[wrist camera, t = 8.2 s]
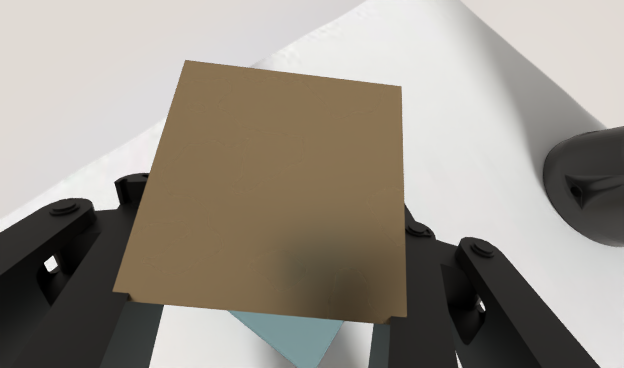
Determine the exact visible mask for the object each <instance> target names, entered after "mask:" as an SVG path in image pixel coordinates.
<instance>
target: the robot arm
mask: <svg viewBox="0 0 624 368" xmlns="http://www.w3.org/2000/svg"><path fill="white" fill-rule="evenodd" d="M149 174H150V173H138V174H132V175H127V176H124V177H122V178H119V179H118V180H116V181H115V182H114V183H115V187H116V191H117V194H118V198H119V202H120V205H119V207H118V208H117V209H114V210H100V211H95V210H94V207H93V204H92V202H91V201H90V200H88V199H83V198H68V199H62V200H59V201H57V202H54V203H51V204H48V205H46V206H44V207H42V208H40V209H39V210H37V211H35V212H34V213H32V214H30V215H29V216H27V217H25V218H24V219H22V220H20V221H19V222H17V223H15V224H14V225H12V226H10V227H9V228H7V229H5V230H4V231H2V232H0V368H149V365H150V360H151V356H152V352H153V348H154V344H155V340H156V336H157V332H158V328H159V323H160V319H161V315H162V311H163V307H164V304H153V303H142V302H130V301H128V299H129V293H122V292H112V291H113V288H114V285H115V282H116V278H117V275H118V272H119V269H120V266H121V263H122V259H123V256H124V253H125V250H126V247H127V244H128V240H129V237H130V234H131V231H132V228H133V224H134V221H135V218H136V215H137V212H138V209H139V205H140V202H141V199H142V196H143V193H144V190H145V186H146V183H147V180H148V177H149ZM544 182H545V187H546V190H547V193H548V195H549V198H550V200H551V202H552V203H553V205H554V207H555V208H556V210H557V211H558V213H559V214H560V215H561V216H562V217H563V219H564V220H565V221H566V222H567V223H568V224H569V225H570V226H572V227H573V228H574V229H575V230H577V231H578V232H579V233H581V234H582V235H584V236H586V237H587V238H589V239H591V240H593V241H595V242H598V243H601V244H604V245H608V246H614V247H624V126H622V127H617V128H612V129H607V130H602V131H594V132H587V133H583V134H580V135H577V136H575V137H572V138H570V139H568V140H566V141H564V142H562V143H560V144H558V145H557V146H555V147H554V148H553V149H552V150H551V151H550V153H549V154H548V156H547V158H546V161H545V164H544ZM404 214H405V255H406V296H407V317H397V316H391V318H390V323H389V325H386V324H375V323H374V326H373V334H372V342H371V350H370V358H369V366H368V368H458V363H457V357H456V353H457V355H458V358H459V360H460V363H461V365H462V368H600V367H599V365H598V364H597V363H596V362H595V361H594V360H593V358H592V357H591V356H590V355H589V354H588V353H587V351H586V350H585V349H584V348H583V347H582V346H581V344H580V343H579V342H578V341H577V340H576V338H575V337H574V336H573V335H572V334H571V333H570V331H569V330H568V329H567V328H566V327H565V326H564V324H563V323H562V322H561V321H560V320H559V319H558V317H557V316H556V315H555V314H554V313H553V312H552V310H551V309H550V308H549V307H548V306H547V305H546V303H545V302H544V301H543V300H542V299H541V298H540V296H539V295H538V294H537V293H536V292H535V291H534V289H533V288H532V287H531V286H530V285H529V284H528V282H527V281H526V280H525V279H524V278H523V276H522V275H521V274H520V273H519V272H518V271H517V269H516V268H515V267H514V266H513V265H512V264H511V262H510V261H509V260H508V259H507V258H506V257H505V255H504V254H503V253H502V252H501V251H500V250H499V249H498V248H496V247H495V246H493V245H492V244H490V243H489V242H487V241H484V240H482V239H477V238H473V237H465V238H462V239H461V241H460V243H459V245H458V246H455V245H452V244H448V243H445V242H442V241H439V240H436V238H435V235H434V233H433V231H432V230H431V229H430V228H429V227H427V226H425V225H424V224H422V223H419V222H416V221H415V220H414V218H413V216H412V215H411V213H410V211H409V210H408V208H407V206H406V205H405V203H404ZM52 256H54V258H55V260H56V262H57V265H58V266H57V267H56V268H55V269H54V270H52V271H50V272H49V271H47V269H46V267H45V265H44V262H45V261H47V260H48V259H49V258H50V257H52ZM481 301H482V302H483V304H484V306H485V310H486V311H484V310H483V309H482V307H481V305H480V302H481ZM455 350H456V352H455Z"/></svg>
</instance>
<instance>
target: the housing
mask: <svg viewBox="0 0 624 368" xmlns="http://www.w3.org/2000/svg"><path fill="white" fill-rule="evenodd" d="M112 292H122V293H129V299H128V301H130V302H142V303H153V304H164V305H175V306H186V307H197V308H208V309H219V310H230V311H241V312H253V313H264V314H275V315H286V316H297V317H308V318H319V319H330V320H341V321H353V322H364V323H375V324H386V325H389V323H390V318H391V316H397V317H407V296H406V255H405V214H404V174H403V133H402V92H401V86H394V85H385V84H377V83H369V82H361V81H353V80H344V79H336V78H328V77H320V76H312V75H303V74H295V73H287V72H279V71H271V70H262V69H254V68H246V67H237V66H229V65H221V64H213V63H204V62H196V61H189V60H185V63H184V66H183V69H182V72H181V75H180V79H179V82H178V85H177V88H176V92H175V94H174V98H173V101H172V104H171V107H170V110H169V113H168V117H167V120H166V123H165V126H164V129H163V132H162V136H161V139H160V142H159V145H158V148H157V151H156V155H155V158H154V161H153V164H152V167H151V171H150V174H149V177H148V180H147V183H146V186H145V190H144V193H143V196H142V199H141V202H140V205H139V209H138V212H137V215H136V218H135V221H134V224H133V228H132V231H131V234H130V237H129V240H128V244H127V247H126V250H125V253H124V256H123V259H122V263H121V266H120V269H119V272H118V275H117V278H116V282H115V285H114V288H113V291H112Z"/></svg>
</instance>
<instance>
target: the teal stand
mask: <svg viewBox="0 0 624 368" xmlns="http://www.w3.org/2000/svg"><path fill="white" fill-rule="evenodd" d="M227 311H229V312H230V313H231V314H232V315H233V316H235V317H236V318H237V319H238V320H240V321H241V322H242V323H243V324H245V325H246V326H247V327H248V328H250V329H251V330H252V331H253V332H254V333H256V334H257V335H258V336H259V337H261V338H262V339H263V340H264V341H266V342H267V343H268V344H269V345H270V346H272V347H273V348H274V349H275V350H277V351H278V352H279V353H280V354H282V355H283V356H284V357H285V358H287V359H288V360H289V361H290V362H291V363H293V364H294V365H295V366H296V367H298V368H317V366H318V364H319V363H320V361H321V359H322V358H323V356H324V354H325V352H326V351H327V349H328V347H329V346H330V344H331V342H332V340H333V339H334V337H335V335H336V334H337V332H338V330H339V328H340V327H341V325H342V323H343V322H344V321H341V320H330V319H319V318H308V317H297V316H286V315H275V314H264V313H253V312H241V311H230V310H227Z"/></svg>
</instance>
